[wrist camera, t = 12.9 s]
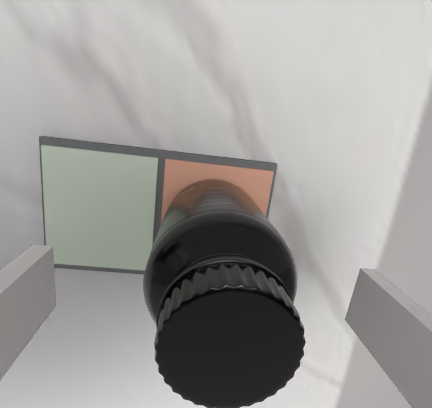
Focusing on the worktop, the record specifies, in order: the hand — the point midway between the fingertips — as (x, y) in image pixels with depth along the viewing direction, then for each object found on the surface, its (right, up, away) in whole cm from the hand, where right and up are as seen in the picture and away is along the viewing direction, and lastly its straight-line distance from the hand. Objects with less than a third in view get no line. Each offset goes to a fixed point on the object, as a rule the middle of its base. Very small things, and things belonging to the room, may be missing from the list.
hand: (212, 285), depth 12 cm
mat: (-4, +3, +9) cm, 10 cm away
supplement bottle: (0, +2, +8) cm, 9 cm away
